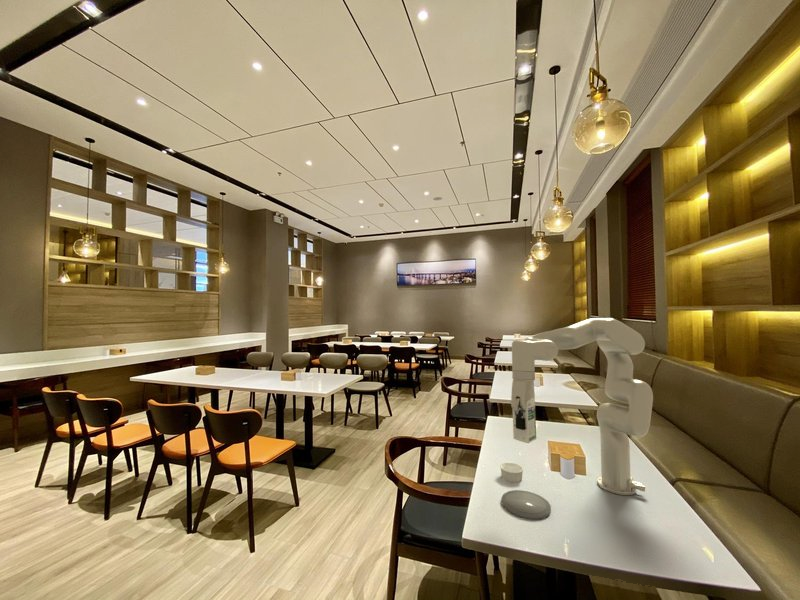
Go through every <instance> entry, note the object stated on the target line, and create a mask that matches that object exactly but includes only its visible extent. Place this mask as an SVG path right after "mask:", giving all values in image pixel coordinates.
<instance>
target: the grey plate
mask: <svg viewBox="0 0 800 600" xmlns="http://www.w3.org/2000/svg"><path fill="white" fill-rule="evenodd" d="M501 505H502V507H503V508H504V510H506V511H507V512H508V513H510V514H512V515H513V516H515V517H519V518H521V519H526V520H534V521H535V520H536V521H539V520H544V519H546V518H548V517H549V516H550V515H551V514H552V508H551V507H552V506H551V504H550V502H549V501H548V500H547V499H545V498H544V496H541V495H539V494H537V493H535V492H531V491H527V490H520V489H519V490H518V489H516V490H510V491H509V490H508V491H507V492H505V493H503V494H502V495H501Z"/></svg>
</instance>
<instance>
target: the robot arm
mask: <svg viewBox="0 0 800 600" xmlns="http://www.w3.org/2000/svg"><path fill="white" fill-rule="evenodd" d="M593 342H596V343H597V346H598V347H599V349H600V350H601V352H603V354H604V355H605V357H606V360H607V370H606V376H605V377H606V378H605V385H604V394H605V395H606V397H608V398H609V399H611V400H613V401H617V402H620V403H623V404H626V405H627V404H628V407H627V406H624V405H622V404H621V405H620V404H617V403H613V402H604V403H602V404H600V405H598V407H597V410H596V419H597V423H598V427H599V434H600V470H601V471H600V472H601V476H599V477H598V478H597V479H596V483H597V485H598V486H599V487H600V488H602V490H605V491H607V492H609V493H613V494H616V495H620V496H632V495H633V496H634V495H635V494H636V493H637V490H638V491H640V492H644V493H645V492H646V486H645V485H643V483H642V482H639V481H635V480H634V479H633V478H634V477H633V476H631V475H632V474H631V452H630V451H631V444H630V439H629V437H628V435H629V436H632V437H635V438H642V437H645V436H646V435H647V434H648V432H649V430H650V426H651V420H652V419H651V418H652V410H653V403H654V394H653V389H652V387H651V386H650V384H648V383H647V382H645V381H643V380H641V379H640V380H639V379H635V378H634V363H633V361H632V358H631V357H630V355H632V356H634V355H636V356H637V355H639V354H641V353H642V352H643V351H644V350H645V346H646V342H645V339H644V337H643V336H642V334H641V333H640V332H638V331H636V330H635V329H633V328H632V327H630V326H629V325H627V324H625V323H624V322H622V321H620V320H617V319H615V318H613V317H605V318H604V317H592V318H590V317H589V318H587V319H585V320H581V321H579V322H577V323H574V324H573V323H572V324H571V325H568V326H565V327H561V328H556V329H553V330H548V331H542V332H540V333H539V332H538V333H536V334H534V335H531V336H528V337H526V338H524V339H516V340H513V341H512V342H511V363H512V364H511V370H512V373H511V374H512V377H511V378H512V383H511V399H510V401H511V404H510V405H511V409H512V408H513V409H512V411H513V410H514V412H515V417H516V428H517V429H521V430H525V429H526V428H525V418H524V414H525V409H526V407H527V402H528V401H529V400H530V399H532V398H535V399H536V397H535V396H536V395H535V383H534V381H536V373H535V371H536V370H535V369H536V368H535V364H536V363H535V361H543V362H544V361H545V362H548V361H552V360H554V359H556V358H557V356H558V354H559V350H561V351H563V350H574V349H578V348H580V347H583V346H585V345H588V344H591V343H593ZM519 406H520V407H523V409H522V408H519ZM519 410H522V413H521V411H519Z"/></svg>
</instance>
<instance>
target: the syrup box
mask: <svg viewBox="0 0 800 600" xmlns="http://www.w3.org/2000/svg"><path fill="white" fill-rule="evenodd" d="M519 408H522V409H523V407H520V406H519ZM511 409H512V431H513V434H512V437H513V439H514V440H515V441H519V442H523V443H526V444H530V443H532V442H533V441H536V440H537V424H536V423H537V422H536V421H537V417H536V397H535V398H532V399H530V400H529V401H528V402H527V407H526V409H525V414H524V418H525V428H526V429H525V430H521V429H517V428H516V417H515V412H514V410H513V408H512V407H511ZM519 411H521V413H522V410H519Z"/></svg>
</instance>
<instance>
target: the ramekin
mask: <svg viewBox="0 0 800 600" xmlns="http://www.w3.org/2000/svg"><path fill="white" fill-rule="evenodd" d="M499 467H500V474H501V477H502V479H503V480H504V481H506V482H510V483H520V482H521V481H523V472H524V468H523V466H521V465H520V464H518V463H515V462H503V463H501V464H500V466H499Z"/></svg>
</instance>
